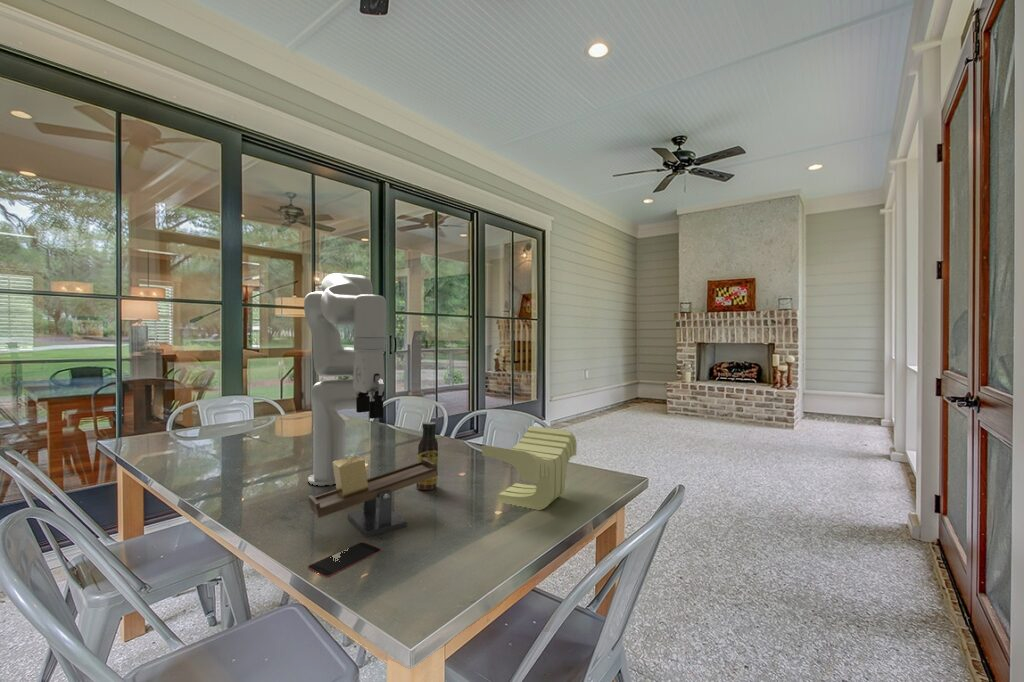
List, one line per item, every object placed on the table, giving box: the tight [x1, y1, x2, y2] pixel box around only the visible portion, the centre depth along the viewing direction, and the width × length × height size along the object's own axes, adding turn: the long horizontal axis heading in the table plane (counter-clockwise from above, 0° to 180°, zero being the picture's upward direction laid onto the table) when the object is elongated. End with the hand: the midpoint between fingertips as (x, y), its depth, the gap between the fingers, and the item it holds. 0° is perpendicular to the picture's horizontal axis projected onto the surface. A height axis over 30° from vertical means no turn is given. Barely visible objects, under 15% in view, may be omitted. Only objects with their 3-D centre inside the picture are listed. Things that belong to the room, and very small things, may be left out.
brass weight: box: [332, 454, 369, 499], centre depth 111 cm, size 5×6×8 cm
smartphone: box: [307, 541, 382, 578], centre depth 96 cm, size 7×1×14 cm
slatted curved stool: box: [481, 425, 578, 511], centre depth 132 cm, size 30×16×18 cm, turn 153°
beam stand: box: [347, 490, 408, 538], centre depth 115 cm, size 13×10×9 cm
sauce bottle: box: [415, 421, 439, 491], centre depth 141 cm, size 6×6×20 cm
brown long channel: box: [307, 458, 439, 519], centre depth 114 cm, size 8×30×4 cm, turn 128°
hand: (369, 414), depth 113 cm, fingers open, 9 cm apart
